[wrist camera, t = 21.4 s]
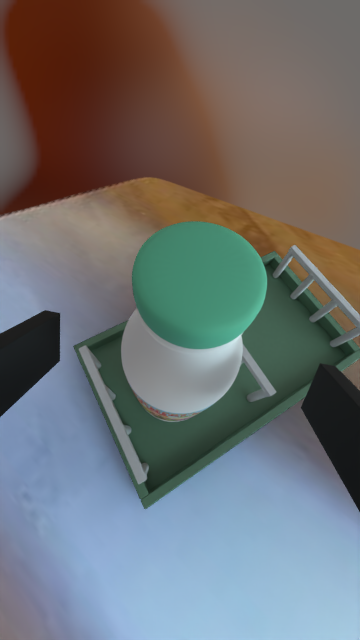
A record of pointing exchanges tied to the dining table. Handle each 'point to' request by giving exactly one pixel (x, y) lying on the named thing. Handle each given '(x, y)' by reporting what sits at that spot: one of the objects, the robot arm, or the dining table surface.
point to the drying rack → (244, 394)
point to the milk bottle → (190, 317)
